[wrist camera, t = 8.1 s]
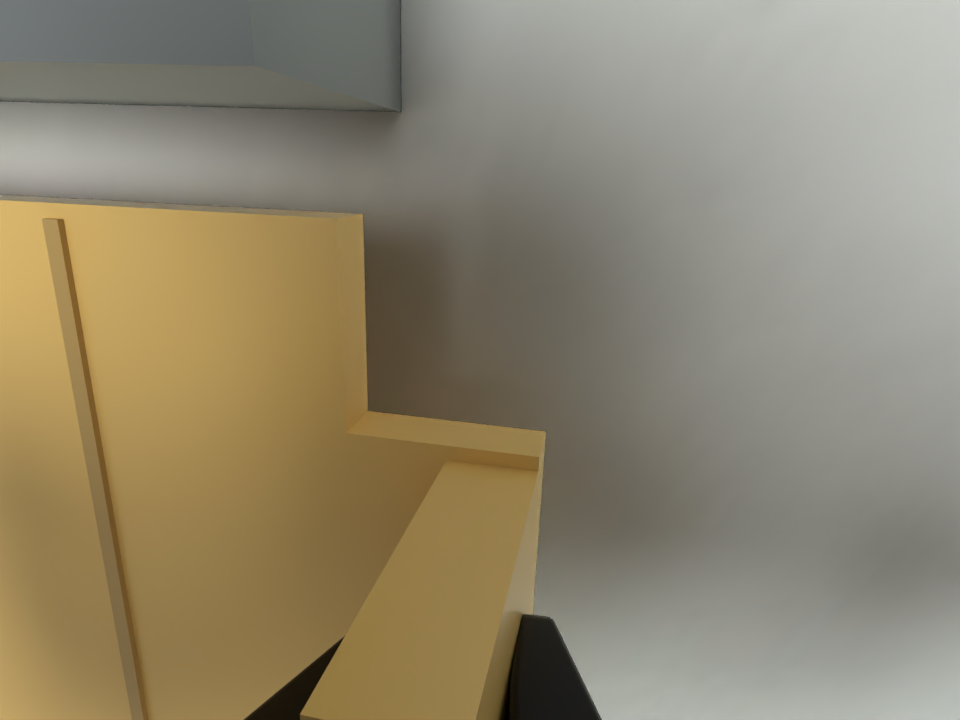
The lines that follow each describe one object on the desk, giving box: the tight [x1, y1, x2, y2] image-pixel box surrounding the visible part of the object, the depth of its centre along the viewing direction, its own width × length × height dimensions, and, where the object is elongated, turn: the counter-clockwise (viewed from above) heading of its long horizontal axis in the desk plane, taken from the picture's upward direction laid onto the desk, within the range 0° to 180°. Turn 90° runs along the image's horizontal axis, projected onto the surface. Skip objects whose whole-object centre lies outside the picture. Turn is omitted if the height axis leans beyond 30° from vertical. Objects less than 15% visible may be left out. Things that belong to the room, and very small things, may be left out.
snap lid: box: [0, 195, 546, 720], centre depth 9 cm, size 15×10×6 cm
